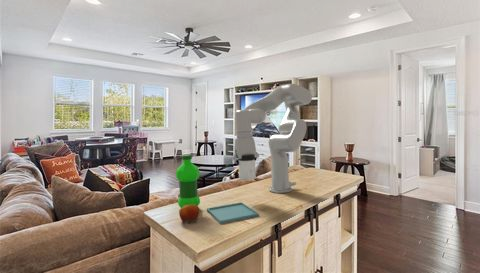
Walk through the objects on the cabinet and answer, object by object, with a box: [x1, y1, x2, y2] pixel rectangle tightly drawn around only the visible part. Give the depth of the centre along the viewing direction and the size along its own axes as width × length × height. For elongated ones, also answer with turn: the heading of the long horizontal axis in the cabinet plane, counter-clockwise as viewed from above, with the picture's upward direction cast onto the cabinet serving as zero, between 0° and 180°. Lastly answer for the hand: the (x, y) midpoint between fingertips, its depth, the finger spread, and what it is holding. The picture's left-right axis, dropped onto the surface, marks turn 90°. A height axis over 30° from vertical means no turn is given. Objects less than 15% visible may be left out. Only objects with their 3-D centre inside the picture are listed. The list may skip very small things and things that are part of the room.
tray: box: [206, 202, 260, 225], centre depth 111 cm, size 17×17×1 cm
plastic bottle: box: [175, 154, 201, 209], centre depth 117 cm, size 10×10×25 cm
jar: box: [237, 154, 257, 181], centre depth 127 cm, size 9×8×12 cm
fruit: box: [178, 204, 201, 225], centre depth 104 cm, size 8×8×8 cm
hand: (246, 171), depth 128 cm, fingers closed on jar, 4 cm apart
